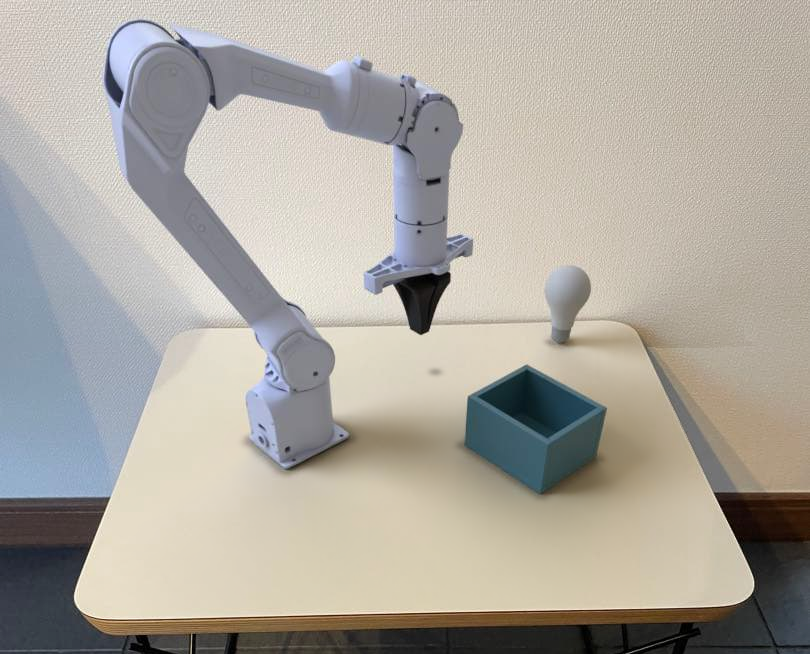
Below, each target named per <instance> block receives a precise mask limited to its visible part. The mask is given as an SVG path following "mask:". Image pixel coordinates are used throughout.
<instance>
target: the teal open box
mask: <svg viewBox="0 0 810 654" xmlns="http://www.w3.org/2000/svg"><path fill="white" fill-rule="evenodd" d="M466 400H467V401H466V402H467V403H466V415H465V416H466V417H465V429H464V431H465V432H464V446H465V447H467V448H468V449H470V450H472V451H473V452H475V453H476V454H477V455H479V456H481V457H482V458H483V459H485V460H486V461H488V462H490V463H491V464H492V465H495V467H497V468H498V469H500V470H502V471H503V472H505V473H507V474H508V475H510V476H511V477H513V478H514V479H516V480H517V481H518V482H521V483H522V484H523V485H525V486H526V487H528V488H530V489H531V490H533V491H534V492H536V493H537V494H539V495H541V494H543V493H544V492H546V491H547V490H549V489H550V488H552V487H553V486H555V485H556V484H558V483H559V482H561V481H562V480H564V479H566V478H567V477H568V476H571V474H573V473H575V472H576V471H577V470H578V469H580V468H582V467H584V466H585V465H586V464H588V463H589V462H591V461H592V460H593V459H595V458H597V455H598V451H599V446H600V441H601V438H602V437H601V436H602V432H603V428H604V423H605V419H606V415H607V410H608V407H606V406H605V405H603V404H601V403H599V402H597V401H595V400H593V399H592V398H590V397H588V396H586V395H584V394H583V393H581V392H579V391H577V390H576V389H573V388H572V387H570V386H568V385H566V384H564V383H562V382H560V381H559V380H557V379H555V378H553V377H551V376H549V375H547V374H545V373H544V372H542V371H540V370H538V369H537V368H534V367H533V366H530V365H529V364H527V363H526V364H525V365H523V366H521V367H519V368H517V369H515V370H514V371H511V372H509V373H508V374H506V375H504V376H502V377H501V378H499V379H497V380H495V381H493V382H491V383H489V384H488V385H486V386H484V387H482V388H480V389H478V390H476V391H475V392H473V393H471V394H470V395H467V399H466Z"/></svg>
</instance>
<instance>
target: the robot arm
mask: <svg viewBox="0 0 810 654" xmlns="http://www.w3.org/2000/svg"><path fill="white" fill-rule="evenodd" d="M168 26H169V28H171V29H172V30H173V31H174V32H175V33H176V34H177V36H178V38H177V39H175V37H174V36H173V35H172V33H170V32H169V30H167V29H166V28H165V27H164V26H162V25H161V24H159V23H158V22H155V21H153V20H150V19H147V18H133V19H132V18H131V19H129V20H126V21H125V22H122V23H120V24H119V25H118V26H117V27H116V28H115V29H114V30H113V32H112V33H111V35H110V36H109V39H108V42H107V46H106V51H105V57H104V64H103V71H102V78H101V82H102V86H103V89H104V93H105V98H106V101H107V105H108V111H109V115H110V121H111V127H112V132H113V138H114V144H115V148H116V155H117V160H118V165H119V169H120V171H121V173H122V175H123V177H124V179H125V180H126V181H127V183H128V185H129V187H130V188H131V190H132V191H133V192H134V193H135V194H136V195H137V197H138V198H139V199H140V200H141V201H142V203H143V204H145V206H146V207H147V208H148V209H149V211H150V212H151V213H152V214H153V215H154V216H155V217H156V218H157V220H158V221H159V222H160V223H161V225H162V226H163V227H164V228H165V229H166V231H168V233H169V234H170V235H171V236H172V237H173V238H174V240H175V241H176V242H177V243H178V244H179V245H180V246H181V248H182V249H183V250H184V251H185V252H186V253H187V255H188V256H189V257H190V258H191V259H192V261H193V262H194V263H195V264H196V265H197V266H198V267H199V269H200V270H201V271H202V272H203V273H204V274H205V275H206V277H207V278H208V279H209V281H211V282H212V284H213V285H214V286H215V288H217V289H218V291H219V292H220V293H221V294H222V295H223V296H224V298H225V299H226V300H227V301H228V302H229V303H230V304H231V306H232V307H233V308H234V309H235V310H236V311H237V313H238V314H239V315H240V316H241V317H242V318H243V320H244V321H245V322H246V323H247V324H248V326H249V327H250V328H251V329H252V330H253V334H254V335H253V336H254V338H255V341H256V342H257V344H258V345H259V347H260V348H261V349H262V350H263V351H264V352H265V354H266V356H267V357H266V360H265V364H264V375H263V377H262V378H261V379H260V381H259V382H258V383H257V384H255V385H254V386H253V387H251V388H250V389H249V390H247V392H245V393H246V394H245V405H246V409H247V410H246V411H247V416H248V421H249V426H250V434H249V436H248V437H249V441H251V442H252V443H253V444H255V446H257V447H258V448H259V449H261V450H262V451H263V452H264V453H265V454H266V455H267V456H269V457H270V458H271V459H272V460H273V461H275V462H276V463H277V464H279V466H281V468H283V469H285V470H287V469H288V470H289V469H290V468H292V467H294V466H296V465H299V464H301V463H302V462H304V461H306V460H307V459H310V458H312V457H314V456H316V455H318V454H320V453H321V452H324V451H326V450H327V449H329V448H331V447H333V446H335V445H337V444H339V443H341V442H343V441H345V440H347V439H349V437H350V434H349V432H348V431H347V430H345V429H344V428H342V427H341V426H339V424H337V423H336V422H334V416H333V415H334V414H333V405H332V404H333V403H332V392H331V391H332V390H331V381H330V376H331V375H332V373H333V370H334V368H335V365H336V353H335V351H334V349H333V346H332V345H331V344H330V343H329V342H328V341H327V340H326V339H325V338H324V337H323V336H322V335H321V333H319V331H318V330H317V329H316V327H315V326H314V325H313V324H312V322H311V321H310V320H309V319H308V317H307V315H306V312H305V311H304V310H303V309H302V308H301V307H300V306H299V305H298V304H296V303H294V302H292V301H289V300H287V299H285V298H284V297H283V296H281V294H279V292H278V291H277V289H276V288H275V287H274V285H273V284H272V283H271V282H270V281H269V279H268V278H267V277H266V275H265V274H264V272H262V270H261V269H260V267H258V265H257V264H256V263H255V261H254V260H253V259H252V258H251V256H250V255H249V253H248V252H247V251H246V250H245V248H244V247H243V246H242V245H241V243H239V241H238V240H237V238H236V237H235V236H234V234H233V233H232V232H231V231H230V229H229V228H228V227H227V226H226V224H225V223H224V222H223V221H222V219H221V218H220V216H219V215H218V214H217V213H216V212H215V210H214V209H213V207H212V206H211V205H210V204H209V203H208V201H207V200H206V199H205V197H204V196H203V195H202V194H201V192H200V191H199V190H198V188H197V187H196V186H195V185H194V183H193V182H192V181H191V179H190V178H189V177H188V176H187V175H186V172H185V167H186V163H187V155H188V151H189V145H190V143H191V141H192V140H193V138H194V136H195V134H196V133H197V130H198V128H199V127H200V125H201V122H202V121H203V119H204V117H205V115H206V113H207V109H208V107H209V104H210V105H211V106H212V107H213V108H214V109H215V110H216V111H217V112H218V111H221V110H223V109H224V108H225V107H226V106H228V105H229V104H230V103H231V102H233V100H235V99H236V98H237V97H239V96H240V95H245V96H249V97H254V98H259V99H262V100H267V101H270V102H276V103H279V104H280V103H281V104H284V105H285V104H286V105H289V106H294V107H298V108H302V109H307V110H312V111H316V112H318V113H319V115H320V117H321V119H322V122H323V123H324V125H325V127H326V128H327V129H328V130H330V131H332V132H336V133H339V134H342V135H347V136H350V137H351V136H352V137H355V138H358V139H362V140H366V141H371V142H374V143H378V144H382V145H385V146H392V157H393V158H392V161H393V162H392V163H393V165H392V166H393V169H392V175H393V176H392V177H393V178H392V179H393V182H392V183H393V248H394V249H393V251H392V252H391V253H389V254H388V256H386V257H384V258H383V259H382V260H381V261H379V262H378V263H377V264H376V265H374V266H373V267H371V268H369V269H367V270H365V271H364V272H363V288H364V290H366V291H367V292H369V293H371V294H373V295H375V296H377V295H379V294H382V293H383V290H384V289H385V288H387V287H390V286H393V287H394V289H395V290H396V293H397V294H398V296H399V298H400V301H401V303H402V306H403V308H404V311H405V314H406V318H407V322H408V326H409V330H411V331H412V332H414V333H415V334H417V335H419V336H423V335H425V334H427V333H429V332H430V329H431V327H432V323H433V320H434V316H435V313H436V310H437V307H438V305H439V303H440V300H441V298H442V296H443V294H444V293H445V291H446V289H447V288H448V287H449V285H450V284H451V281H452V274H451V272H450V271H451V262H452V261H453V260H455V259H458V258H460V257H463V258H469V257H471V256H473V253H474V252H473V251H474V238H472V237H470V236H468V235H465V234H463V233H459V234H456V235H453V236H448V221H449V220H448V218H449V215H448V214H449V194H450V193H449V192H450V191H449V190H450V170H451V163H452V155H453V153H454V151H455V149H456V148H457V146H458V144H459V143H460V141H461V138H462V135H463V131H464V123H463V122H461V121H460V116H459V111H458V109H457V106H456V104H455V103H453V100H452V99H451V98H450V97H448V96H447V95H446V94H444V93H442V92H440V91H439V90H436V89H435V88H433V87H431V86H429V84H426V83H424V82H422V81H419V80H417V78H416V77H415V76H413V75H411V74H408V73H404V72H403V73H402V74H401V75H400V77H399V76H395V75H392V74H389V73H386V72H383V71H379V70H376V69H373V62H372V61H370V60H369V59H367V58H364V57H361V56H358V55H355V56H353V60H352V61H349V60H346V59H345V60H344V59H340V60H337V61H336V62H335V63H334V64H331V65H330V66H329V67H327V68H326V69H323V70H321V69H318V68H315V67H312V66H309V65H306V64H304V63H301V62H298V61H295V60H293V59H290V58H287V57H284V56H281V55H279V54H275V53H273V52H269V51H267V50H264V49H261V48H258V47H255V46H253V45H250V44H246V43H244V42H241V41H238V40H235V39H232V38H230V37H226V36H224V35H220V34H216V33H212V32H208V31H203V30H199V29H195V28H192V27H187V26H182V25H174V24H169V25H168Z"/></svg>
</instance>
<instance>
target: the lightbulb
mask: <svg viewBox="0 0 810 654" xmlns="http://www.w3.org/2000/svg"><path fill="white" fill-rule="evenodd" d="M545 281H546V282H545V284H544V296H545V299H546V302H547V305H548V307H549V311H550V318H551V319H550V324H551V333H550V334H551V336H550V337H551V339H552V341H555V343H557V344H562V343H564V342H565V343H566V342H567V341H568V340H569V339H570V335H571V332H572V328H574V325H575V321H576V318H577V316H578V314H579V312H580V311H581V310H582V309H583V307H584V306H585V305H586V303H587V302H588V301H589V298H590V296H591V292H592V284H591V280H590V277H589V275H588V274H587V272H586V271H585V270H584V269H582V268H581V267H580V266H579V267H578V266H576V265H571V264H568V265H562V266H560V267H558V268H556V269H554V270H553V271H552V272H551V273H550V275H549V276H548V277H547V279H546V280H545Z"/></svg>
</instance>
